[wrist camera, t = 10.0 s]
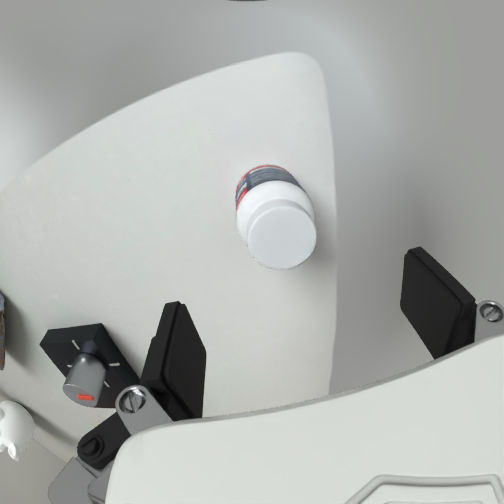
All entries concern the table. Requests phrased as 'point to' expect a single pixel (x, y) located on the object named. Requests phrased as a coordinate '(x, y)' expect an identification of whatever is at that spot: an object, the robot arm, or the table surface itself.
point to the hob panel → (99, 345)
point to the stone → (2, 333)
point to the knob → (85, 380)
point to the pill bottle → (275, 217)
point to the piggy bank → (15, 428)
